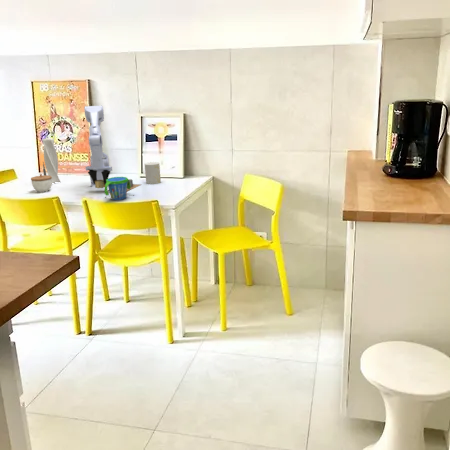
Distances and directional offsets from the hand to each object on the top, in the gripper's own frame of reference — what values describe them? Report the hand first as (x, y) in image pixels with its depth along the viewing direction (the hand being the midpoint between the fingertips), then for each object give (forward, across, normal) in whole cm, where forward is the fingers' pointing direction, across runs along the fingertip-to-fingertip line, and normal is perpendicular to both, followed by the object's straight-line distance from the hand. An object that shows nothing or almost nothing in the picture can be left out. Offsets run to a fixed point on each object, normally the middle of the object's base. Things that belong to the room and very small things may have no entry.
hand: (100, 184), depth 257 cm
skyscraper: (+6, -45, +22) cm, 50 cm away
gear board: (+5, +9, +9) cm, 14 cm away
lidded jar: (+5, -37, +1) cm, 37 cm away
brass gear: (+2, 0, 0) cm, 2 cm away
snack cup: (+5, +15, -9) cm, 18 cm away
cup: (+5, +19, +24) cm, 31 cm away
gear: (+4, +9, +12) cm, 16 cm away
